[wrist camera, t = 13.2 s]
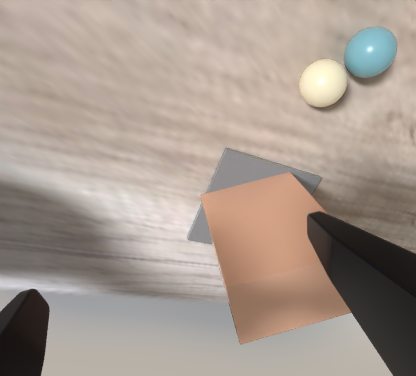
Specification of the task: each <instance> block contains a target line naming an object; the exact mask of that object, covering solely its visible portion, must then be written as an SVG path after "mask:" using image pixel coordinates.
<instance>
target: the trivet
mask: <svg viewBox="0 0 416 376" xmlns="http://www.w3.org/2000/svg"><path fill="white" fill-rule="evenodd" d="M287 172H291V174H292V175H293V176H294V177H295V178H296V179H297V180H298V181H299V182H300V184H301V185H302V186H303V187H304V188H305V189H306V190H307V191H308V192H309V194H310V195H312V193H313V191H314V190H315V188H316V187H317V185H318V183H319V182H320V180H321V179H322V178H321V177H320V176H317V175H314V174H311V173H308V172H304V171H301V170H298V169H294V168H291V167H288V166H285V165H281V164H278V163H275V162H272V161H268V160H265V159H262V158H259V157H255V156H252V155H249V154H245V153H242V152H239V151H236V150H232V149H229V148H225V150H224V153H223V155H222V157H221V160H220V162H219V164H218V167H217V169H216V171H215V173H214V176H213V178H212V180H211V183H210V185H209V187H208V190H207V192H206V194H207V193H210V192H214V191H218V190H222V189H226V188H230V187H233V186H237V185H241V184H245V183H249V182H253V181H256V180H260V179H264V178H268V177H272V176H276V175H279V174H283V173H287ZM187 239H188V240H190V241H196V242H201V243H207V244H212V240H211V236H210V232H209V228H208V224H207V220H206V216H205V212H204V208H203V204H201V206H200V208H199V211H198V213H197V215H196V218H195V220H194V222H193V225H192V227H191V229H190V232H189V234H188V236H187ZM212 245H213V244H212Z"/></svg>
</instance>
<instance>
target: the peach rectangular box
mask: <svg viewBox="0 0 416 376" xmlns="http://www.w3.org/2000/svg"><path fill="white" fill-rule="evenodd" d="M200 196H201V200H202V204H203V208H204V212H205V216H206V220H207V224H208V228H209V232H210V236H211V240H212V244H213V248H214V251H215V255H216V259H217V262H218V266H219V270H220V273H221V277H222V280H223V284H224V288H225V291H226V295H227V299H228V302H229V306H230V309H231V313H232V317H233V320H234V324H235V327H236V331H237V335H238V338H239V342H240V344H244V343H247V342H251V341H254V340H258V339H261V338H264V337H268V336H271V335H275V334H278V333H282V332H285V331H288V330H292V329H296V328H299V327H303V326H306V325H310V324H313V323H316V322H320V321H324V320H327V319H331V318H334V317H338V316H341V315H344V314H348V313H351V311H350V309H349V308H348V306H347V305H346V303H345V302H344V300H343V299H342V297H341V296H340V294H339V293H338V291H337V290H336V288H335V287H334V285H333V284H332V282H331V281H330V279H329V277H328V275H327V273H326V272H325V270H324V268H323V266H322V264H321V262H320V260H319V258H318V256H317V254H316V252H315V250H314V248H313V246H312V244H311V242H310V240H309V238H308V235H307V215H308V214H309V213H312V212H316V211H322V212H324V213H326V214H327V212H326V211H325V210H324V209H323V208H322V207H321V206H320V205H319V204H318V202H317V201H316V200H315V199H314V198H313V197H312V196H311V195H310V194H309V192H308V191H307V190H306V189H305V188H304V187H303V186H302V185H301V184H300V182H299V181H298V180H297V179H296V178H295V177H294V176H293V175H292V174H291V172H287V173H283V174H279V175H276V176H272V177H268V178H264V179H260V180H256V181H253V182H249V183H245V184H241V185H237V186H233V187H230V188H226V189H222V190H218V191H214V192H210V193H207V194H203V195H200Z"/></svg>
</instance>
